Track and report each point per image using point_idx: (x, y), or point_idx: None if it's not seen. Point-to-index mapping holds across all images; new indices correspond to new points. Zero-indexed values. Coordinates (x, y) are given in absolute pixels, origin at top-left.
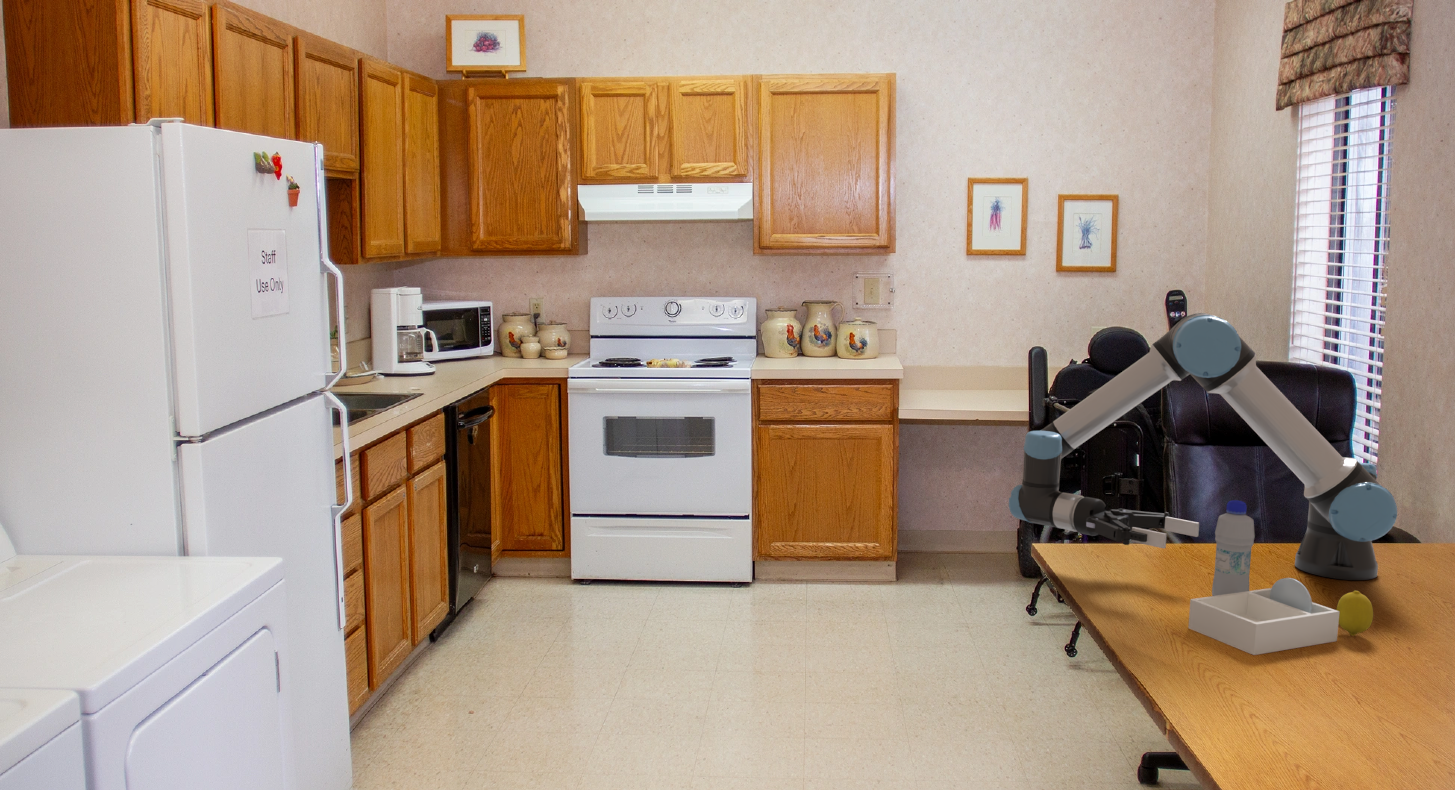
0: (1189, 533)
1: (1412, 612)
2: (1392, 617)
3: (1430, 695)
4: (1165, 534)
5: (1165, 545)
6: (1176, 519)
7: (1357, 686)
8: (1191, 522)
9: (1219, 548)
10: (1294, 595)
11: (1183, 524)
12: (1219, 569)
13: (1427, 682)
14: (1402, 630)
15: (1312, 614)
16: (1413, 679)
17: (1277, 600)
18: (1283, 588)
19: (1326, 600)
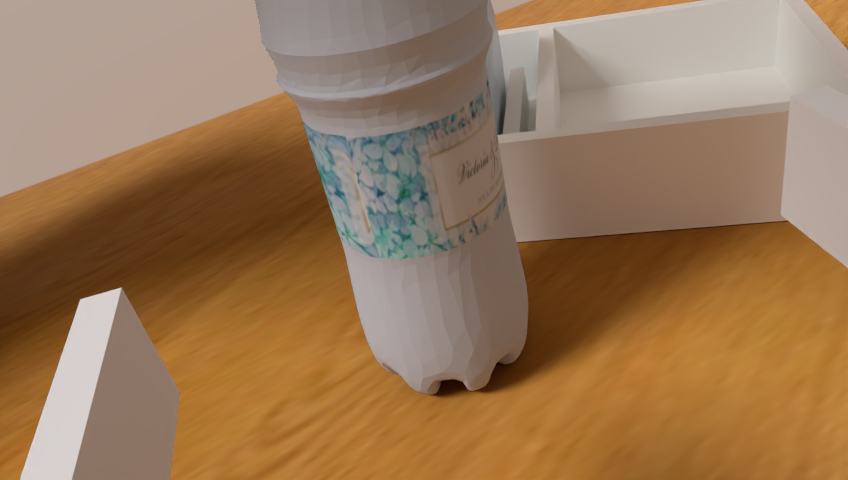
0: (167, 431)
1: (39, 210)
2: (128, 195)
3: None
4: (812, 92)
5: (784, 196)
6: (73, 476)
7: (673, 3)
8: (111, 333)
9: (484, 87)
10: (494, 45)
11: (116, 429)
12: (505, 191)
13: (518, 14)
14: (230, 145)
15: (542, 27)
16: (529, 19)
17: (495, 109)
18: (488, 52)
19: (68, 312)
